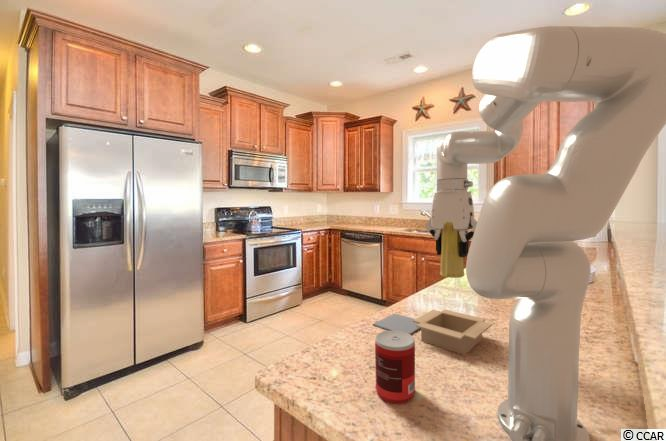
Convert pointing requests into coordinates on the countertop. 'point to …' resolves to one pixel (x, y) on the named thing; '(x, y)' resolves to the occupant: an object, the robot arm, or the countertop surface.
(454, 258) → the vase
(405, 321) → the mat
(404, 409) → the countertop surface
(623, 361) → the countertop surface
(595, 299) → the countertop surface
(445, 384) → the countertop surface
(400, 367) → the canned food
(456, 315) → the carton
